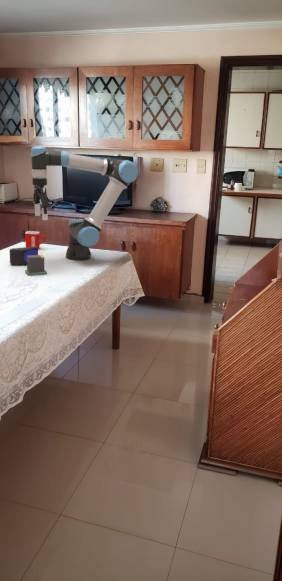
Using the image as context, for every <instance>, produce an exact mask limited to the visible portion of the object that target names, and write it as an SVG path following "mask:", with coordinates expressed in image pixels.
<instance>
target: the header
mask: <svg viewBox="0 0 282 581" xmlns="http://www.w3.org/2000/svg"><path fill="white" fill-rule="evenodd" d="M24 271H25V274H26V275H27V276H28V277H31V276H40V275H41V276H43V275H48V272H47V270H46V269H45V272H35V273H29V271H27V269H25V270H24Z"/></svg>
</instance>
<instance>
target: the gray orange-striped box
mask: <svg viewBox="0 0 282 581" xmlns="http://www.w3.org/2000/svg"><path fill="white" fill-rule="evenodd" d="M26 270H27V271H29V273H35V272H45V270H46V268H45V256H44V255H43V254H38V255H28V256H27V265H26Z"/></svg>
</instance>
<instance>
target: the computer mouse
mask: <svg viewBox="0 0 282 581" xmlns="http://www.w3.org/2000/svg"><path fill="white" fill-rule="evenodd" d="M28 255H39V250H38V248H37V247H26V246H24V247H15V248H14V247H13V248H10V249H9V265H11V266H27V256H28Z"/></svg>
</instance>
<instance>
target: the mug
mask: <svg viewBox="0 0 282 581" xmlns="http://www.w3.org/2000/svg"><path fill="white" fill-rule="evenodd" d="M24 234H25V235H24V236H25V238H24V239H25V247H37V248H38V249H39V250H40V248H41V247H40V246H41V245H42V244H44V243H45V242H46V236H45V235H44V234H43V235H42V234H40V231H33V230H29V231H28V230H27V231H25V233H24ZM41 237H43V241H41V242H40V238H41Z"/></svg>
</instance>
